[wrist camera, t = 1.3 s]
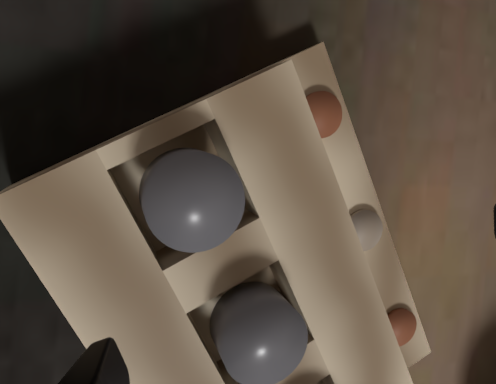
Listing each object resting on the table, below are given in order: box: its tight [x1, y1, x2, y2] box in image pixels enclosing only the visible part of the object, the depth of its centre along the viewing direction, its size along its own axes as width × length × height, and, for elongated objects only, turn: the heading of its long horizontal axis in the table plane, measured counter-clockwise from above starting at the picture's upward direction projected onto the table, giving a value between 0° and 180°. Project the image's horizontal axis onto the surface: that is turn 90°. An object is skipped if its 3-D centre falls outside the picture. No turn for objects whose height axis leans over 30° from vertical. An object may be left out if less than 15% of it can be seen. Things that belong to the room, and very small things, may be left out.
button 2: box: [139, 148, 245, 253], centre depth 15 cm, size 4×4×2 cm
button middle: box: [210, 282, 308, 384], centre depth 17 cm, size 4×4×2 cm
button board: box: [0, 42, 431, 384], centre depth 20 cm, size 15×19×4 cm
